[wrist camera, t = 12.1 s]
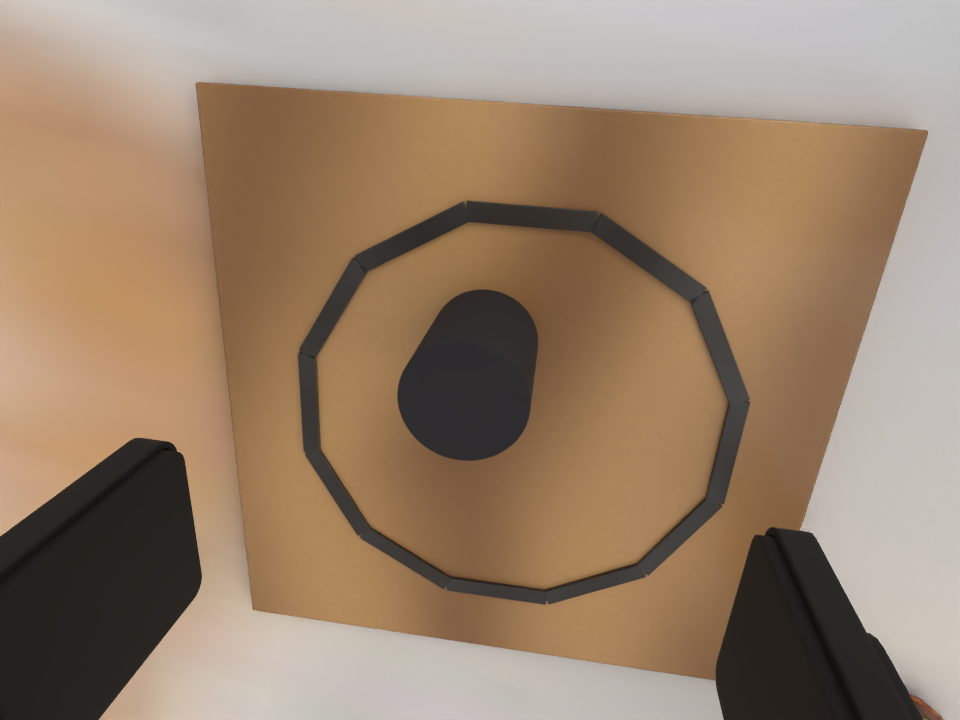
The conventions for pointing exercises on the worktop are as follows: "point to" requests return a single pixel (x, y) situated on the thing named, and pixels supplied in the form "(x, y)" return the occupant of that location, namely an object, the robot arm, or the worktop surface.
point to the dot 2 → (471, 377)
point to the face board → (560, 357)
